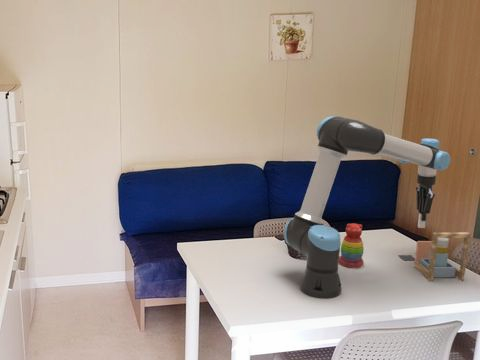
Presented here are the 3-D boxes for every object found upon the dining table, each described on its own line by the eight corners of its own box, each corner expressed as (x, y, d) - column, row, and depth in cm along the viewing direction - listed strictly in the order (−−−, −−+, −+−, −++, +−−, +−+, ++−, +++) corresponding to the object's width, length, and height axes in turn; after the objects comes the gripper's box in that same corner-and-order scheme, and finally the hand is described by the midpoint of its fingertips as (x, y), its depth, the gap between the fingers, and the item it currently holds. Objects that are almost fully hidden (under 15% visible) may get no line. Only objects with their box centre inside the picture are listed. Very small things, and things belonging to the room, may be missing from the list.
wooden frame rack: (429, 281, 216) (435, 234, 211) (413, 267, 230) (418, 223, 225) (464, 280, 218) (470, 233, 213) (446, 267, 232) (451, 222, 227)
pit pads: (403, 260, 237) (403, 260, 237) (398, 255, 243) (398, 255, 243) (438, 260, 240) (438, 259, 239) (432, 255, 245) (432, 254, 245)
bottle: (448, 276, 221) (452, 241, 218) (430, 275, 222) (435, 240, 218) (442, 270, 228) (446, 235, 225) (425, 269, 228) (429, 235, 225)
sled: (431, 277, 219) (433, 256, 217) (411, 260, 237) (413, 241, 235) (454, 276, 221) (457, 255, 219) (433, 260, 238) (435, 240, 236)
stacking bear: (362, 260, 236) (365, 220, 232) (365, 269, 226) (369, 228, 222) (337, 258, 237) (340, 219, 233) (338, 267, 227) (342, 226, 223)
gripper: (442, 178, 228) (436, 231, 234) (428, 171, 241) (422, 222, 246) (425, 178, 227) (419, 232, 233) (411, 171, 240) (406, 222, 245)
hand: (421, 227), depth 239 cm, fingers closed
